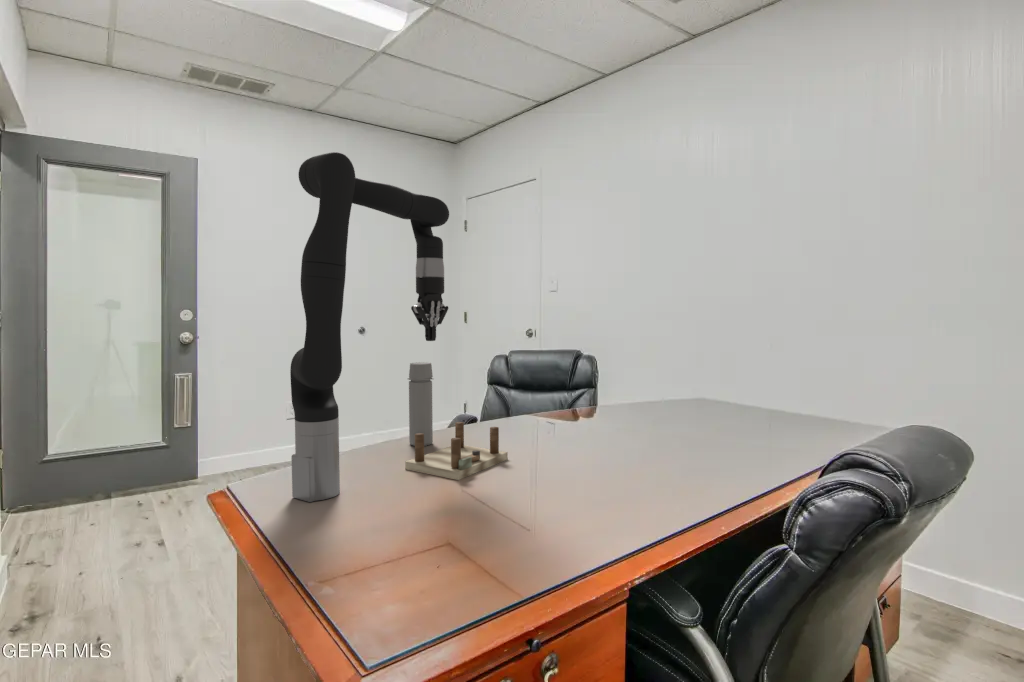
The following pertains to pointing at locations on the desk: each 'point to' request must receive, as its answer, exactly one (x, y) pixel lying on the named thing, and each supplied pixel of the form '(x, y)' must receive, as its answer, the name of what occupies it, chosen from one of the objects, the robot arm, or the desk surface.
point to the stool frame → (441, 460)
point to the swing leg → (457, 453)
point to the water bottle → (420, 402)
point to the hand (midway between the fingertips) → (430, 340)
